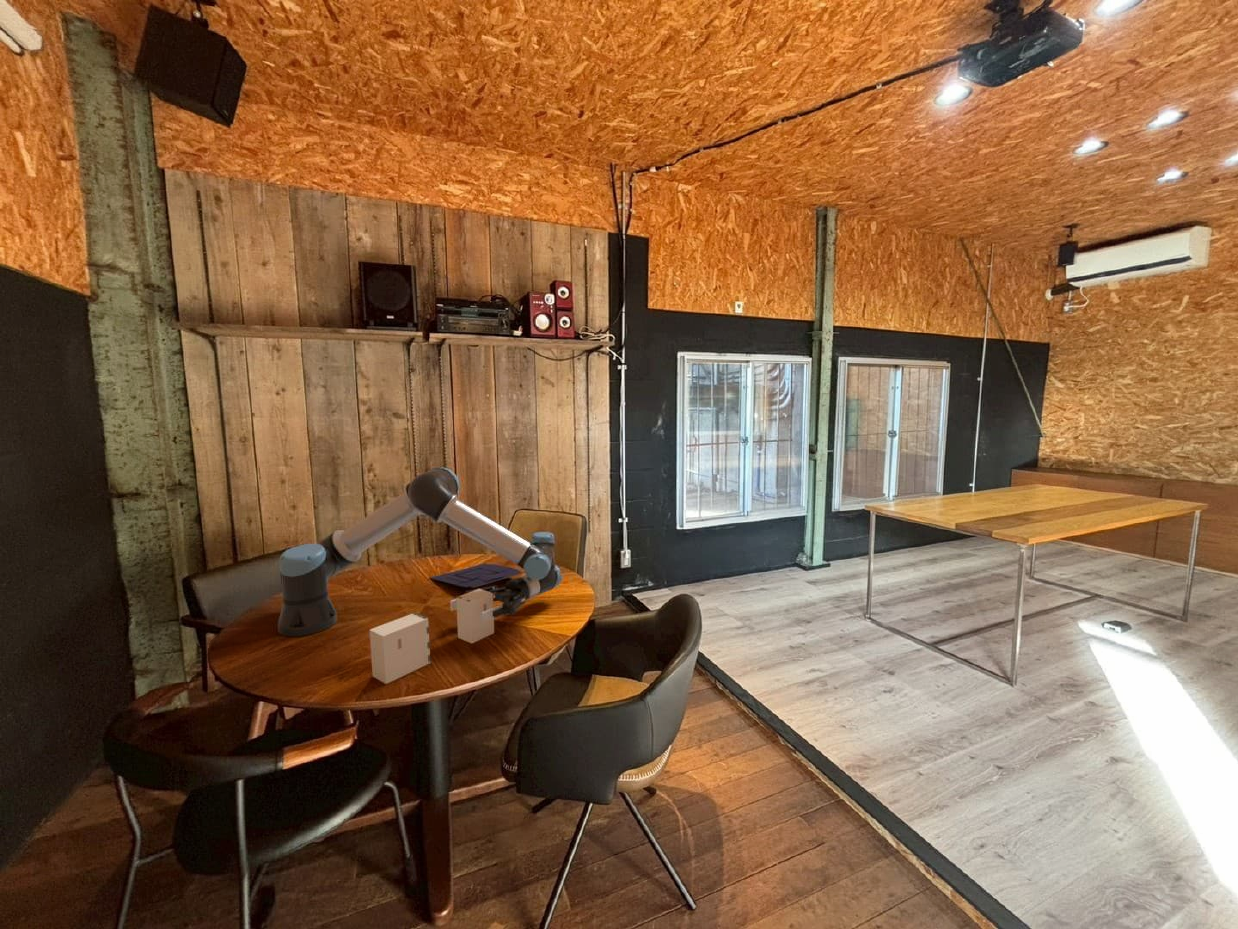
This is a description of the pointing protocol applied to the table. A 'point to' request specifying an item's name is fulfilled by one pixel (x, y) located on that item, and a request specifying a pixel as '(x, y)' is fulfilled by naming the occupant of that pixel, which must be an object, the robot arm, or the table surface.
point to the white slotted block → (399, 647)
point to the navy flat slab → (478, 575)
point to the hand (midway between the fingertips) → (466, 611)
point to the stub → (474, 615)
